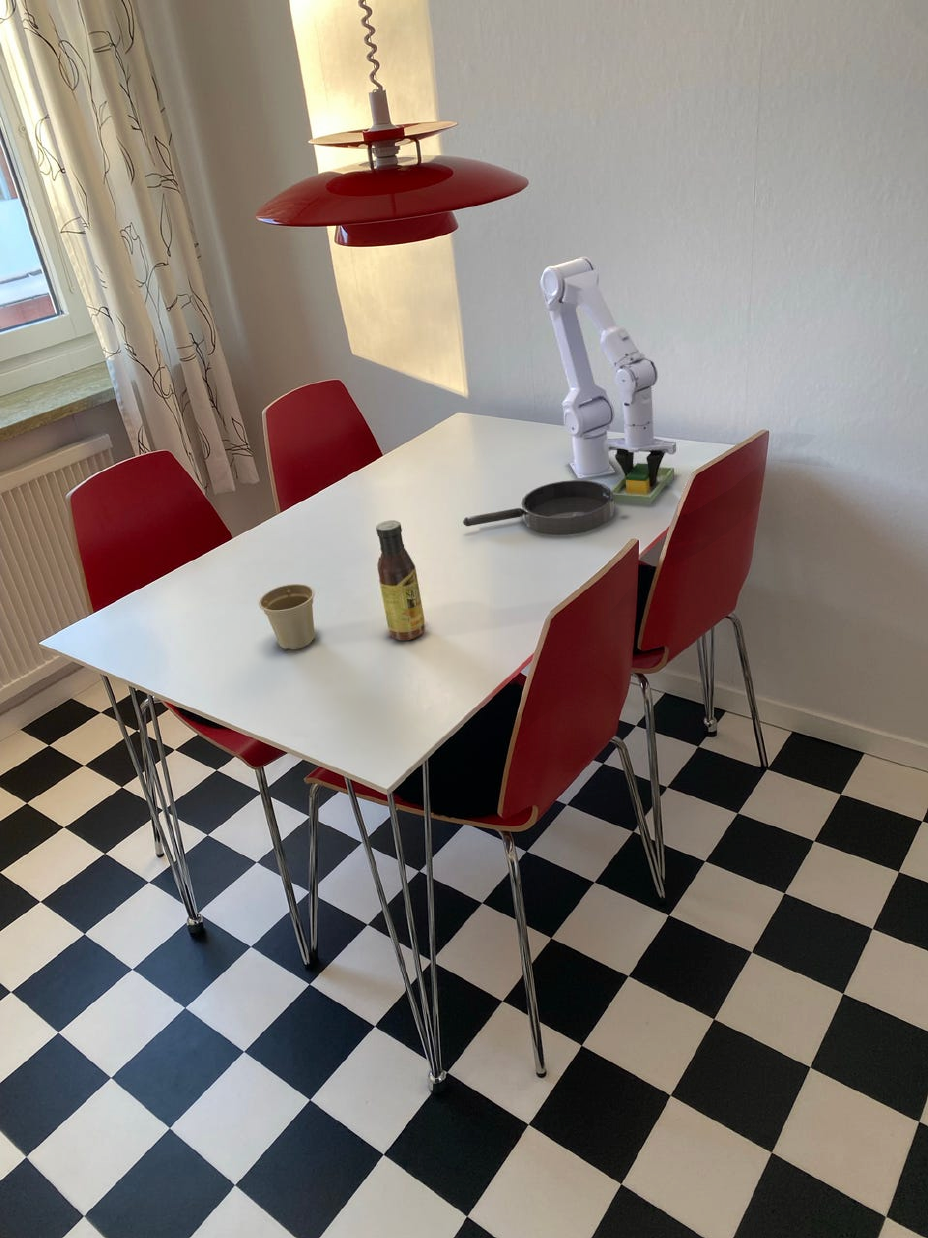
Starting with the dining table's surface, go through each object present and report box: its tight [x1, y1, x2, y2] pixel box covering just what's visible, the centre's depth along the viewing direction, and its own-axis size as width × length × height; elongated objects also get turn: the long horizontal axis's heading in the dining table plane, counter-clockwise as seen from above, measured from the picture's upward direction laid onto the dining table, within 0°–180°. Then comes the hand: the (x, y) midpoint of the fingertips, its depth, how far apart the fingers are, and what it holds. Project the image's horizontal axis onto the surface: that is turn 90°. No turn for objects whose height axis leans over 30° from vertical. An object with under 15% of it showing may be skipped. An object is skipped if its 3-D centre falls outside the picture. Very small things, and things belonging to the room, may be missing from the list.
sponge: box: [625, 462, 658, 496], centre depth 202 cm, size 7×4×4 cm, turn 152°
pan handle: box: [462, 507, 523, 527], centre depth 195 cm, size 12×2×2 cm, turn 97°
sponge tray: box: [611, 464, 675, 505], centre depth 203 cm, size 15×9×2 cm, turn 152°
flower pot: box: [258, 583, 316, 650], centre depth 167 cm, size 9×9×9 cm
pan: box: [520, 479, 615, 536], centre depth 196 cm, size 18×18×4 cm
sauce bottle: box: [375, 519, 426, 641], centre depth 161 cm, size 6×6×20 cm
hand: (641, 484), depth 203 cm, fingers closed on sponge, 4 cm apart
